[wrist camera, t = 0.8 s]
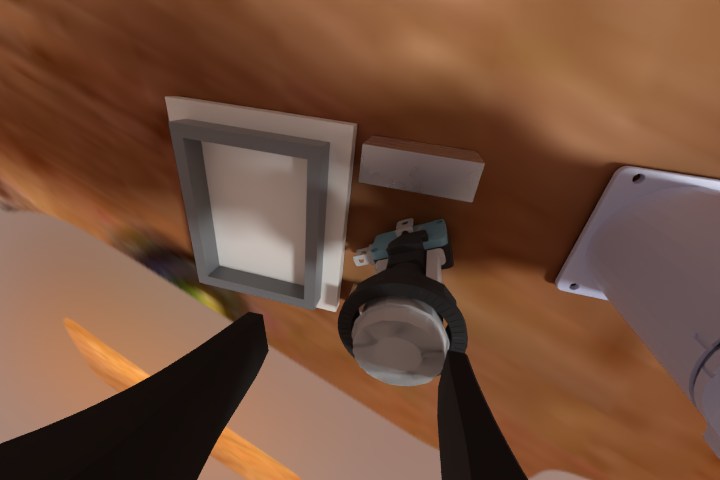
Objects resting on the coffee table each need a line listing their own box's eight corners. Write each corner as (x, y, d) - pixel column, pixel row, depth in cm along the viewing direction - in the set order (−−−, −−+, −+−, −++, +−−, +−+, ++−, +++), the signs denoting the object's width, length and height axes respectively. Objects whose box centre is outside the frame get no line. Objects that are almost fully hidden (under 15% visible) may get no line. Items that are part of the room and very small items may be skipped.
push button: (371, 279, 22) (332, 403, 14) (345, 217, 20) (281, 315, 12) (461, 262, 20) (483, 398, 11) (442, 190, 18) (451, 289, 9)
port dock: (357, 123, 17) (346, 129, 15) (339, 303, 24) (330, 325, 22) (176, 95, 19) (143, 97, 17) (207, 272, 26) (187, 289, 24)
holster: (476, 151, 17) (484, 163, 14) (425, 319, 23) (424, 349, 20) (373, 135, 17) (362, 144, 15) (351, 302, 24) (341, 328, 21)
